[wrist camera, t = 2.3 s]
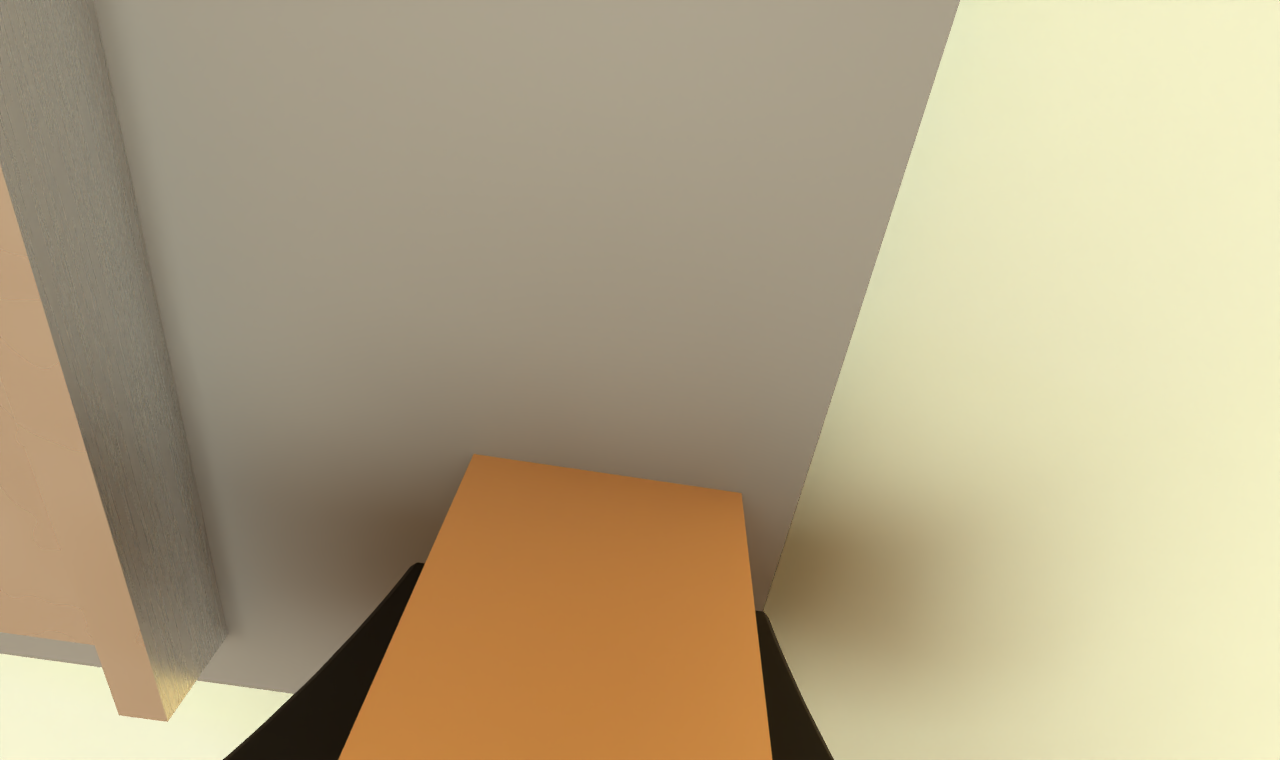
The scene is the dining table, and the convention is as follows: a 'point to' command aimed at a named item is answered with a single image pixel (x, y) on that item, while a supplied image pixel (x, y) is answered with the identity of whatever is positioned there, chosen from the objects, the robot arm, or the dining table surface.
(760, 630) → the robot arm
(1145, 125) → the dining table surface
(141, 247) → the rail
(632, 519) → the module
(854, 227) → the mount board
